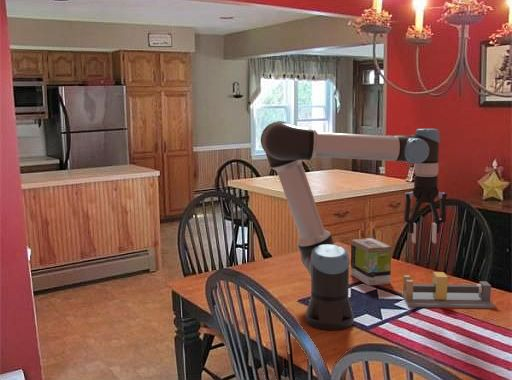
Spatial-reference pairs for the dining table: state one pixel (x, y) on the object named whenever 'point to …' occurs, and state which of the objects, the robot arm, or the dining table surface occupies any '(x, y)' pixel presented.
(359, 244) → the tea box
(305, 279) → the dining table surface
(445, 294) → the sleeve
